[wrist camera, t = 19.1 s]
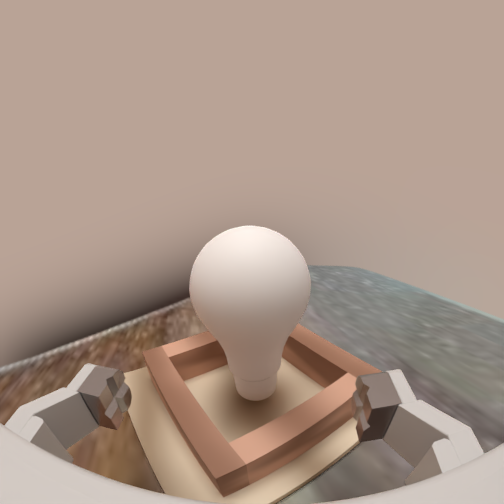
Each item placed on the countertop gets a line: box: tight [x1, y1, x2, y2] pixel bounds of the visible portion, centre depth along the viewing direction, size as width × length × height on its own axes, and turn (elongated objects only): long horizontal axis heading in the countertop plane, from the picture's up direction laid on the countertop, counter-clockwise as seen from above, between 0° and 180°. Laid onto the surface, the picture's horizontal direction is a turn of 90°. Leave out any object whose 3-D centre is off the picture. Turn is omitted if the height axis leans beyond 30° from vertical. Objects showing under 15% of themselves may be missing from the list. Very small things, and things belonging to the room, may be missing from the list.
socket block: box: [124, 324, 382, 504], centre depth 16 cm, size 16×14×3 cm
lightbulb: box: [189, 226, 311, 401], centre depth 15 cm, size 6×6×11 cm
